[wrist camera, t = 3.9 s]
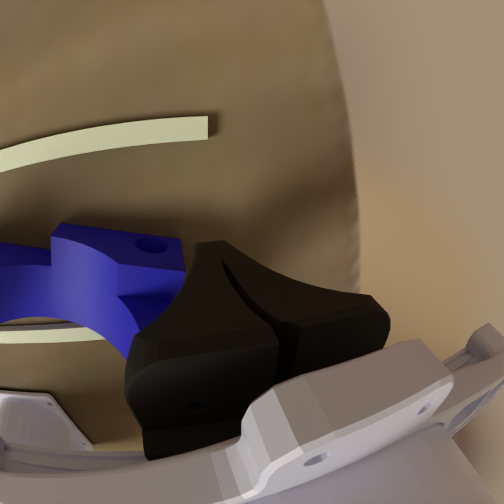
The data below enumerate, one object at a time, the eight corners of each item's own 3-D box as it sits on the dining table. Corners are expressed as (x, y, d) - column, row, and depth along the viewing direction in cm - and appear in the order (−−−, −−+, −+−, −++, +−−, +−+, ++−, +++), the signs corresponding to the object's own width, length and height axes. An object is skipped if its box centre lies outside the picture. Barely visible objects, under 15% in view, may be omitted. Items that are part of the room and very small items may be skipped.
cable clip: (180, 239, 14) (194, 322, 9) (167, 313, 15) (178, 404, 10) (-31, 210, 9) (-96, 269, 4) (-21, 284, 11) (-63, 355, 6)
